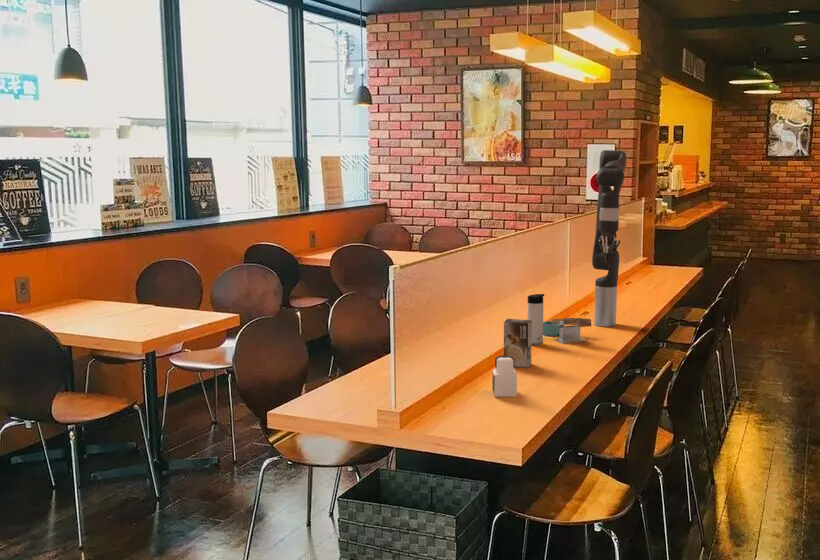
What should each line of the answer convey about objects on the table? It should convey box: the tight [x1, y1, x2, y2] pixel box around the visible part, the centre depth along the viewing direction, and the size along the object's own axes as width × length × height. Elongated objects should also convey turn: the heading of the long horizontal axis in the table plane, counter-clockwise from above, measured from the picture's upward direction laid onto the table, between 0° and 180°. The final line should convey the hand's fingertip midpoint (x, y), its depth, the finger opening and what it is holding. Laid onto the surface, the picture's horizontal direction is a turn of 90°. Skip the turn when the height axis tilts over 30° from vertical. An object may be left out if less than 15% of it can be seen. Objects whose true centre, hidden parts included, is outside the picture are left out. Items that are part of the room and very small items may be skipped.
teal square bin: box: [543, 320, 560, 338], centre depth 355 cm, size 8×8×5 cm
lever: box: [551, 317, 592, 328], centre depth 343 cm, size 13×19×3 cm
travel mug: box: [526, 293, 545, 347], centre depth 336 cm, size 6×7×20 cm
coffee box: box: [503, 318, 532, 368], centre depth 305 cm, size 9×6×16 cm
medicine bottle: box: [492, 355, 518, 398], centre depth 270 cm, size 7×7×12 cm
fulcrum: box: [554, 320, 587, 345], centre depth 342 cm, size 11×6×8 cm, turn 113°
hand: (607, 262), depth 343 cm, fingers closed
